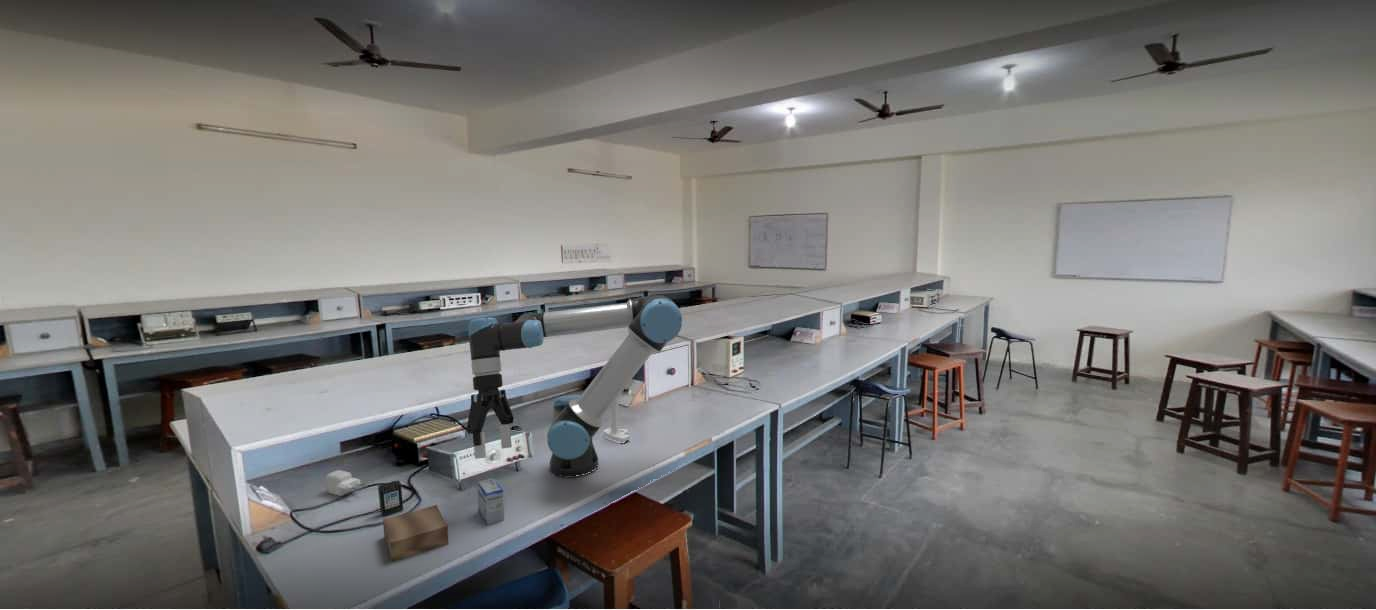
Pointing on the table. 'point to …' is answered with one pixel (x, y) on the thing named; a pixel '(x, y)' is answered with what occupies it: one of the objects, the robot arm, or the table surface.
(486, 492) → the medicine box
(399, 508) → the ink cartridge
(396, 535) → the walnut block
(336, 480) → the power adapter
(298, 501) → the table surface
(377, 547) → the table surface
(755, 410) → the table surface
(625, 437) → the joystick
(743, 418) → the table surface
